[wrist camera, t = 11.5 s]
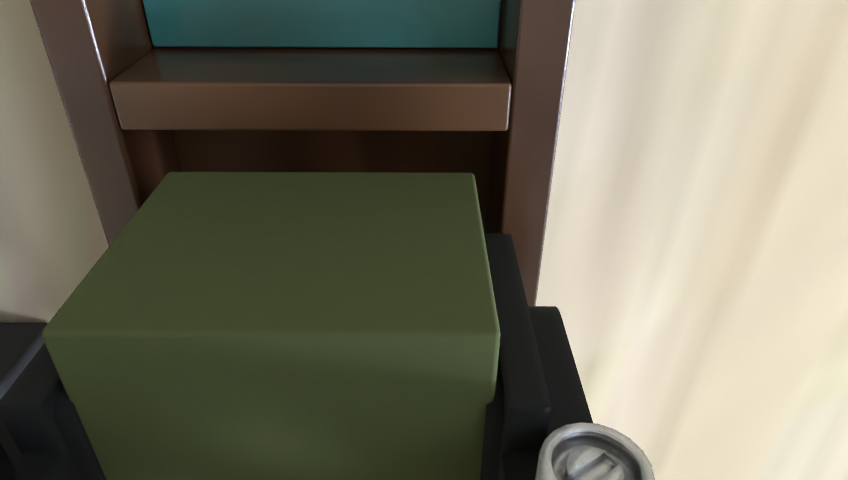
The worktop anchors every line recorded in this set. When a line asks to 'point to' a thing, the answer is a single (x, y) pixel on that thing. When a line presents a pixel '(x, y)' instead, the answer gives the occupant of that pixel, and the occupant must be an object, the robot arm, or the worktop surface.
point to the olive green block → (287, 330)
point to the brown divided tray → (316, 95)
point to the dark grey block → (17, 350)
